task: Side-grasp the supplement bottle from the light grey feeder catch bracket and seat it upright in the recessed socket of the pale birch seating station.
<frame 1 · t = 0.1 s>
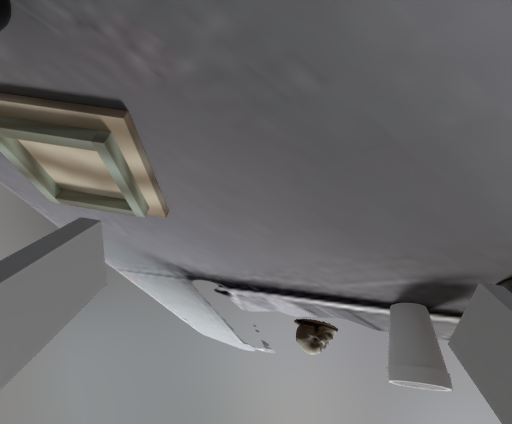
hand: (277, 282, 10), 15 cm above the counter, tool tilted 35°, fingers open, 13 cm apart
foam cup: (408, 306, 54), on the counter
skull: (315, 323, 77), on the counter
seating station: (84, 161, 31), on the counter
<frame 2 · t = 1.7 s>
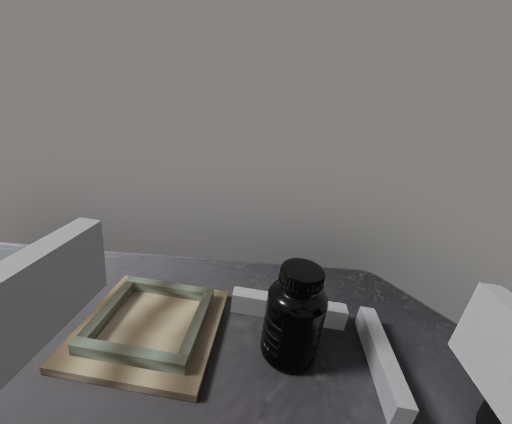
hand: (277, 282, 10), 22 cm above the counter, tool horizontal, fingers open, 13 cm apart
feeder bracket: (286, 350, 34), on the counter
seating station: (153, 328, 35), on the counter
supplement bottle: (286, 352, 34), on the counter
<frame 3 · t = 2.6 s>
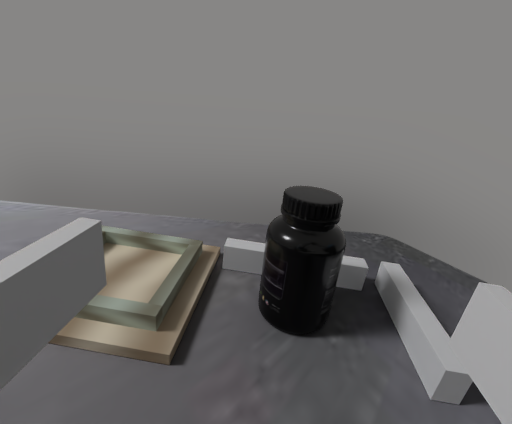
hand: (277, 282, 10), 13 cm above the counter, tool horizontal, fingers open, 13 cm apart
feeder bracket: (291, 309, 27), on the counter
seating station: (124, 281, 28), on the counter
supplement bottle: (290, 311, 27), on the counter
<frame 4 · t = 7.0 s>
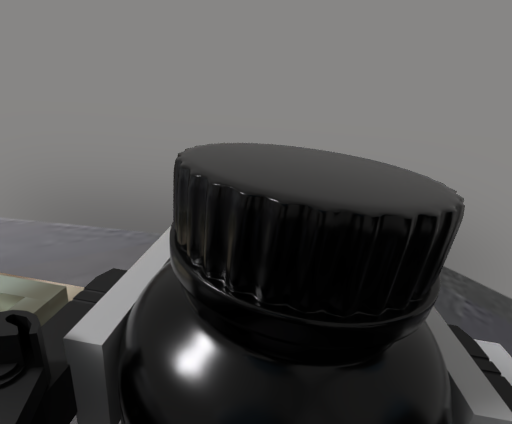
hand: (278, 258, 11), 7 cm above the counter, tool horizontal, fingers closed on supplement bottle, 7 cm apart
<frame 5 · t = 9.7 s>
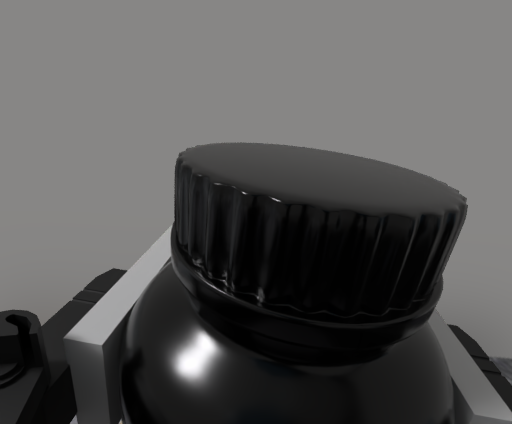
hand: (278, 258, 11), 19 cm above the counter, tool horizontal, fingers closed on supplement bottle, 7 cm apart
when the fingers open (9 cm above the counter, at t = 12.7 s): supplement bottle drops 1 cm, resting on seating station.
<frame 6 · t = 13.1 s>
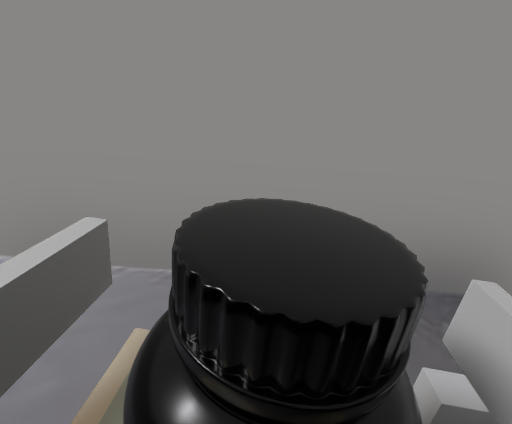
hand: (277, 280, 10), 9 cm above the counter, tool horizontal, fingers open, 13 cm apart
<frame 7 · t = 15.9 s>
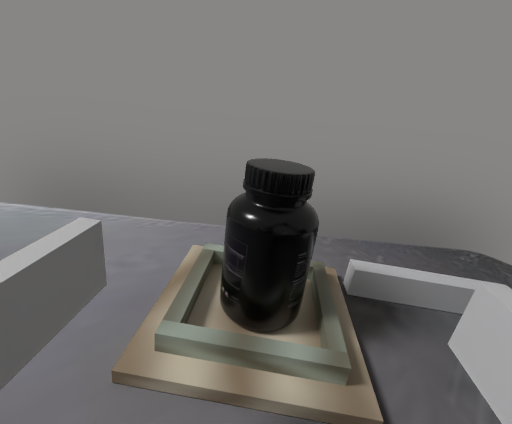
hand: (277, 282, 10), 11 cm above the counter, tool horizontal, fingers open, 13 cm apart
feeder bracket: (455, 348, 23), on the counter
seating station: (255, 313, 24), on the counter
supplement bottle: (257, 306, 23), point 1 cm above the counter, touching seating station
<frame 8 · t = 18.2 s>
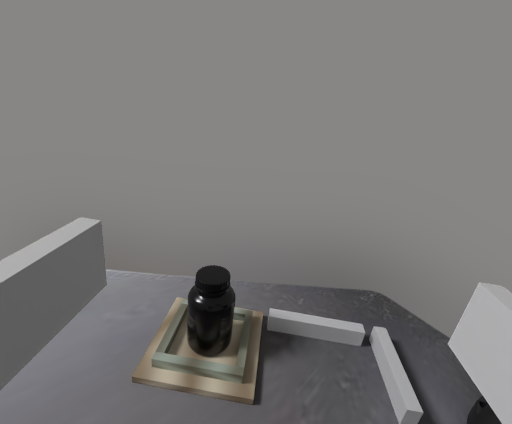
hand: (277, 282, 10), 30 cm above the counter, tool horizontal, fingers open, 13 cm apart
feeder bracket: (316, 363, 42), on the counter
seating station: (207, 343, 43), on the counter
supplement bottle: (208, 340, 43), point 1 cm above the counter, touching seating station
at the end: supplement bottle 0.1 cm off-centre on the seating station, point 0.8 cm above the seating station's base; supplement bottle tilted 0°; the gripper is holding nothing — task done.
